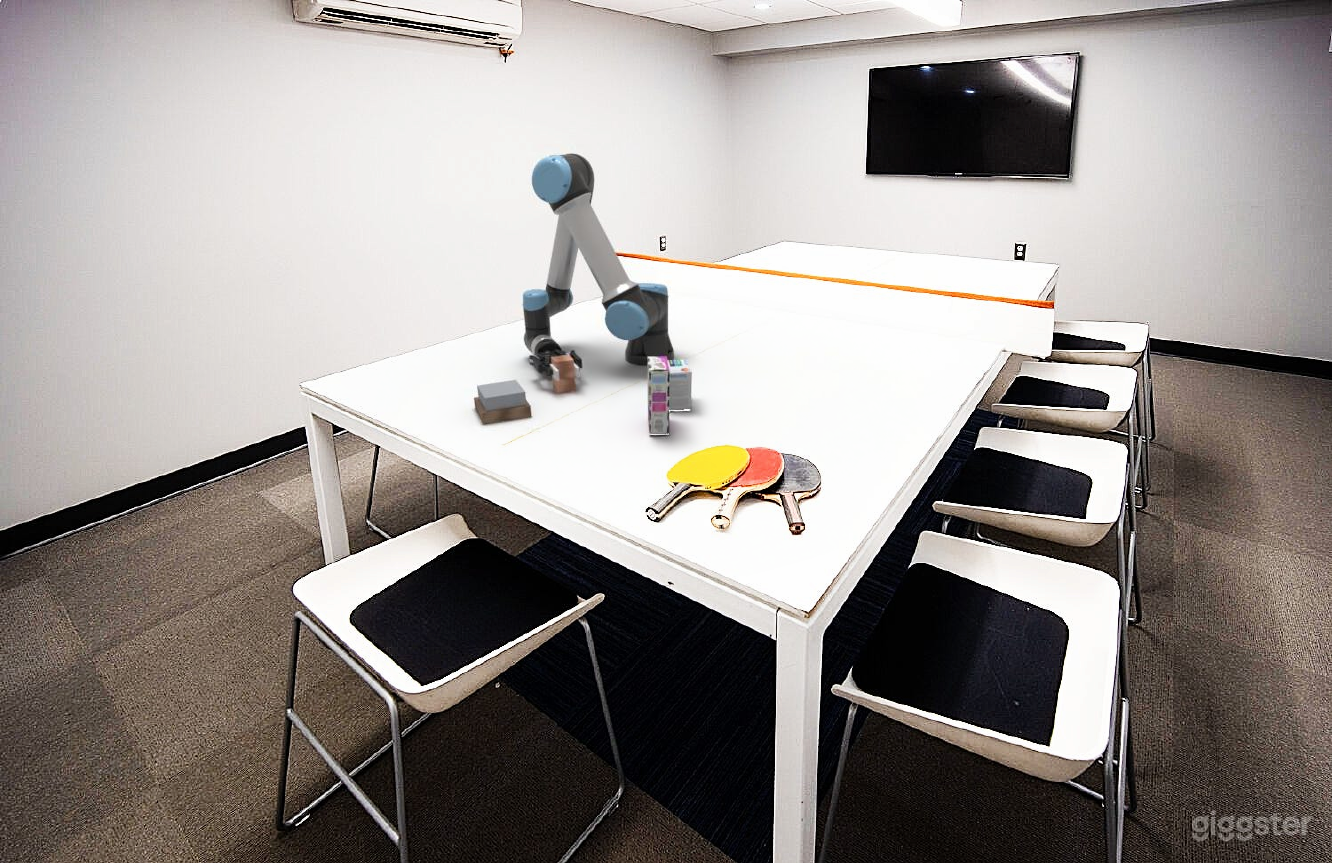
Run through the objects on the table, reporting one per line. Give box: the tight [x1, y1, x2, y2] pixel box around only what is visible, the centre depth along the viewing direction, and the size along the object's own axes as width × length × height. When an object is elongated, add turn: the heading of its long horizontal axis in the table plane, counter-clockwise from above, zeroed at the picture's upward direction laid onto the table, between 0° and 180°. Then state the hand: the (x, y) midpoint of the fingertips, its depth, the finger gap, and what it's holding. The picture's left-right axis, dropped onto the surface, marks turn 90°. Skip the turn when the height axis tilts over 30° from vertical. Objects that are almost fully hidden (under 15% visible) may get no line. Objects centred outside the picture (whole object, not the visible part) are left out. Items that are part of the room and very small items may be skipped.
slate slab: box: [476, 379, 527, 412], centre depth 184 cm, size 10×10×4 cm
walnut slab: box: [473, 396, 533, 425], centre depth 186 cm, size 12×12×4 cm
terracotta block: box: [551, 355, 576, 395], centre depth 200 cm, size 5×5×9 cm
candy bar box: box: [647, 356, 670, 434], centre depth 173 cm, size 11×5×16 cm, turn 3°
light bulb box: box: [668, 358, 693, 410], centre depth 188 cm, size 11×7×11 cm, turn 5°
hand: (568, 374), depth 195 cm, fingers closed on terracotta block, 5 cm apart
